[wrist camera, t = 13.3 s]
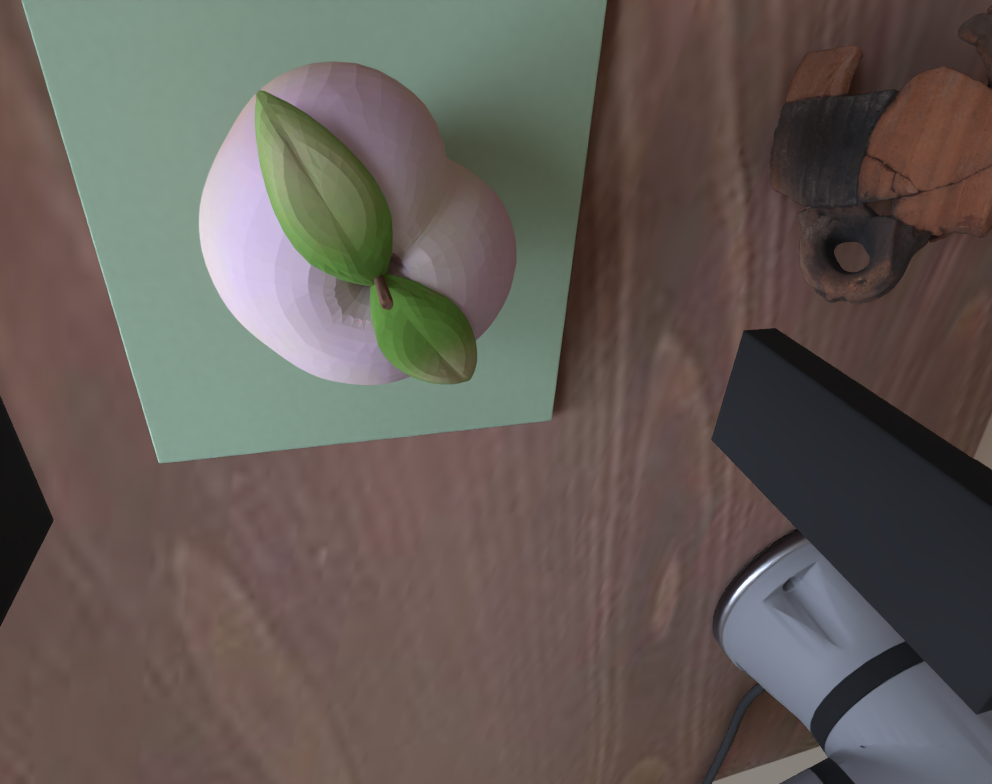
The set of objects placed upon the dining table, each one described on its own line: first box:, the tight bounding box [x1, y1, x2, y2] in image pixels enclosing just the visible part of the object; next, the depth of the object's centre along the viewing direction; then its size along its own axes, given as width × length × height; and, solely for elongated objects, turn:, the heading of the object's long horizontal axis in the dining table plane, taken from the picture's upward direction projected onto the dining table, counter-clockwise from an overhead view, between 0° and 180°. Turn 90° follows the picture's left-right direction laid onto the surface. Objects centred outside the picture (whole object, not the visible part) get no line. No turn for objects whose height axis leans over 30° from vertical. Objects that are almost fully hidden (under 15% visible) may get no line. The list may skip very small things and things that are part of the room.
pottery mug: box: [770, 6, 992, 304], centre depth 26 cm, size 12×10×8 cm
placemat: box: [22, 0, 607, 463], centre depth 23 cm, size 22×18×1 cm
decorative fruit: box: [199, 61, 517, 385], centre depth 18 cm, size 9×8×10 cm
